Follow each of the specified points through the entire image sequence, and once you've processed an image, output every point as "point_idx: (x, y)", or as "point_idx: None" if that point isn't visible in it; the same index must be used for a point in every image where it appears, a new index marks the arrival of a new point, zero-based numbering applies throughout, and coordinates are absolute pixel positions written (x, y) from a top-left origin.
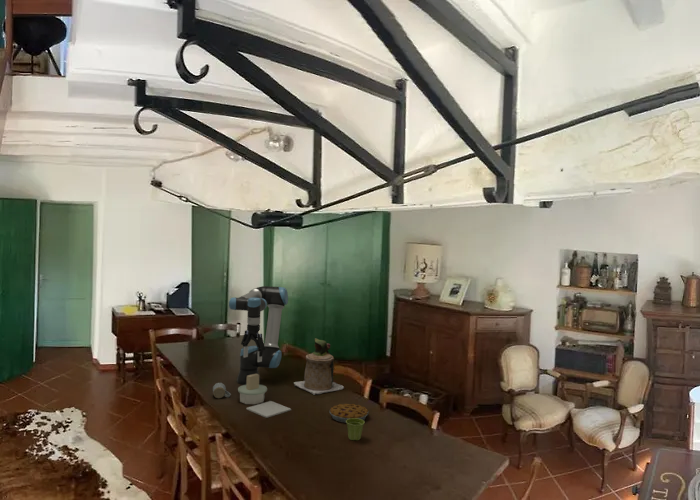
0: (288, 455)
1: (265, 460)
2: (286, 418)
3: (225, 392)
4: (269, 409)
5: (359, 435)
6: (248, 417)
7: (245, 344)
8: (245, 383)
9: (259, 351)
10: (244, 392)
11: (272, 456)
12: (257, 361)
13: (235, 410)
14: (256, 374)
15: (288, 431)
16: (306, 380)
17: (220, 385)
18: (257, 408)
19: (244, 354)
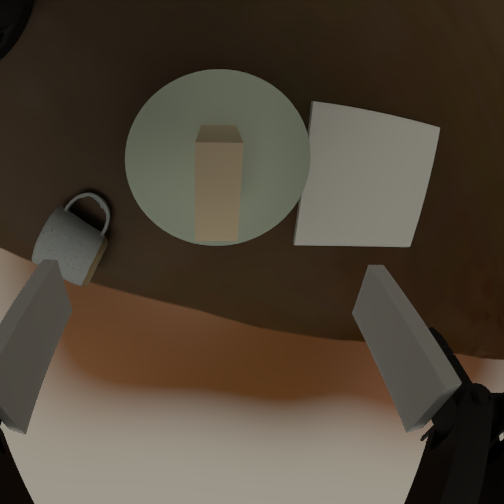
0: (501, 323)
1: (476, 354)
2: (457, 202)
3: (69, 207)
4: (381, 191)
5: None
6: (355, 282)
7: (9, 460)
8: (7, 47)
9: (429, 412)
10: (242, 241)
11: (482, 342)
12: (355, 317)
13: (269, 277)
14: (221, 157)
15: (485, 263)
16: None
17: (67, 264)
18: (335, 217)
19: (59, 337)
